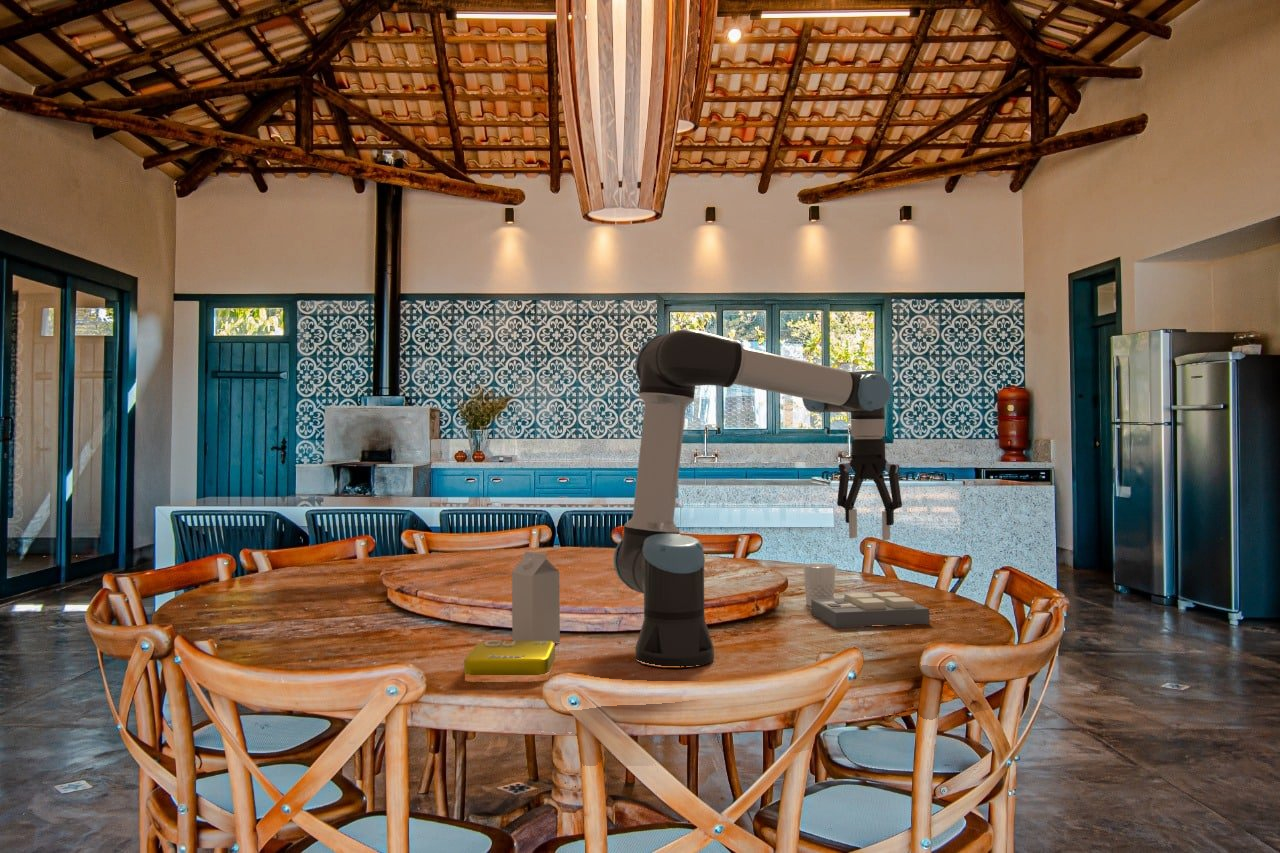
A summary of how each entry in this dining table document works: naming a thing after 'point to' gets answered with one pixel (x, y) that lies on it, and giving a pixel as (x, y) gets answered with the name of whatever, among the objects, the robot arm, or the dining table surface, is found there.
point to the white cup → (819, 581)
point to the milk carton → (535, 600)
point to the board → (865, 614)
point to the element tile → (510, 658)
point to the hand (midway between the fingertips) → (869, 538)
